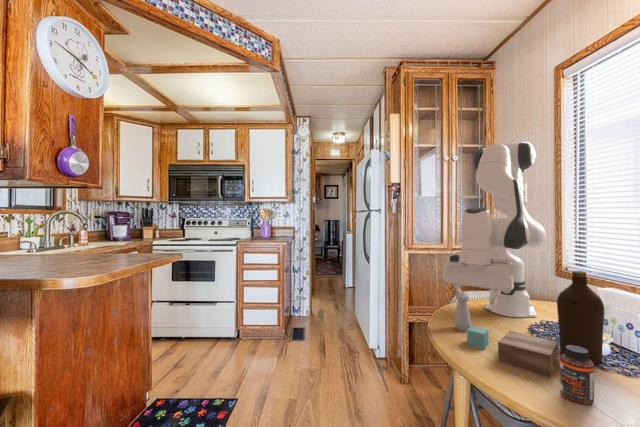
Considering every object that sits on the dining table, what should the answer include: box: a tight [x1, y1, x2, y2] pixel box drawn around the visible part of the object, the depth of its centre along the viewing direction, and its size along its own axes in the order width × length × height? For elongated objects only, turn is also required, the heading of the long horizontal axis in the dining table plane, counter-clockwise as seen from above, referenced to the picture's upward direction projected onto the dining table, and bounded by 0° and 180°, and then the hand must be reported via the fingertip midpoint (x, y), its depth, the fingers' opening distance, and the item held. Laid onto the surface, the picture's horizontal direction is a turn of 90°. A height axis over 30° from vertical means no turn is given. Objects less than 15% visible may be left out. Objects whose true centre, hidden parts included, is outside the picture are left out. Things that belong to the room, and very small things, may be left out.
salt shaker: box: [453, 292, 472, 332], centre depth 112 cm, size 6×6×13 cm
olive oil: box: [556, 270, 605, 365], centre depth 90 cm, size 11×11×25 cm
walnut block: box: [497, 330, 559, 378], centre depth 87 cm, size 12×12×6 cm
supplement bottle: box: [559, 345, 595, 405], centre depth 70 cm, size 6×6×11 cm
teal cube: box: [466, 325, 489, 351], centre depth 98 cm, size 5×5×5 cm
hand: (476, 300), depth 98 cm, fingers open, 8 cm apart
